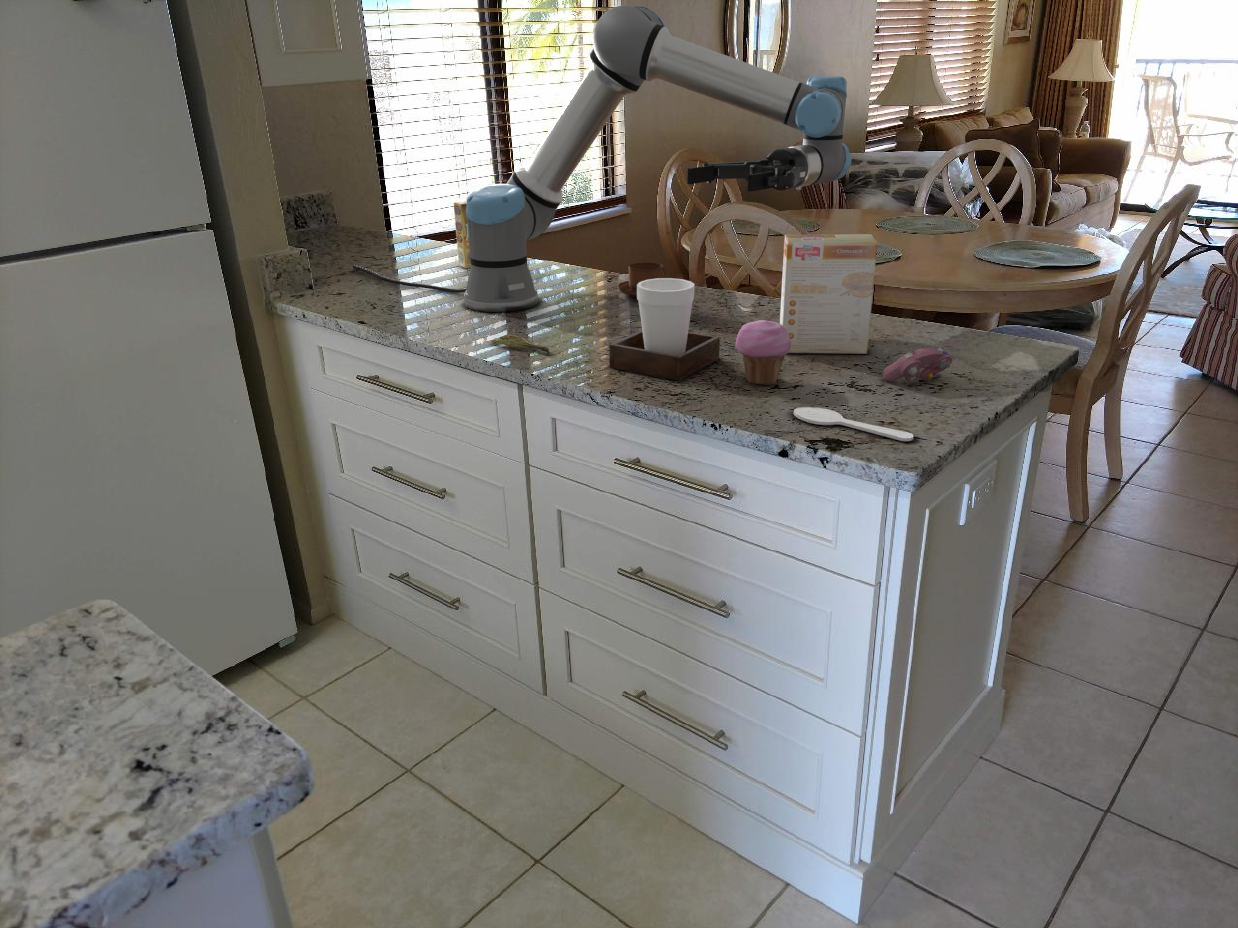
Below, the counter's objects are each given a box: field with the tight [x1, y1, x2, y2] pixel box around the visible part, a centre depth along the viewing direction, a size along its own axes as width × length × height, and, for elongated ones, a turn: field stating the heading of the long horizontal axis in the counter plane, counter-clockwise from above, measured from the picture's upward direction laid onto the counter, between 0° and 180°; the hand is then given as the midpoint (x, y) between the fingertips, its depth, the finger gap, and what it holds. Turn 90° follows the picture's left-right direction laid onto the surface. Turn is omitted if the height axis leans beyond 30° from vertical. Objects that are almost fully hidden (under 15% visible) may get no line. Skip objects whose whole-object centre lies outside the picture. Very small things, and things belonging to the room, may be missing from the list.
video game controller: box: [882, 346, 953, 385], centre depth 152 cm, size 10×5×7 cm, turn 114°
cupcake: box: [734, 319, 791, 386], centre depth 152 cm, size 9×9×10 cm
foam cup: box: [636, 277, 696, 356], centre depth 160 cm, size 10×9×13 cm
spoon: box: [793, 406, 914, 442], centre depth 136 cm, size 5×18×1 cm, turn 52°
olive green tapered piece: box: [490, 334, 551, 356], centre depth 172 cm, size 4×13×2 cm, turn 56°
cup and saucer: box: [617, 261, 667, 298], centre depth 205 cm, size 12×12×6 cm
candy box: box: [453, 200, 471, 269], centre depth 232 cm, size 9×4×15 cm, turn 125°
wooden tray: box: [608, 329, 721, 382], centre depth 162 cm, size 14×14×4 cm
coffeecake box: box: [779, 233, 878, 355], centre depth 166 cm, size 15×7×20 cm, turn 85°
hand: (718, 179), depth 166 cm, fingers open, 13 cm apart
